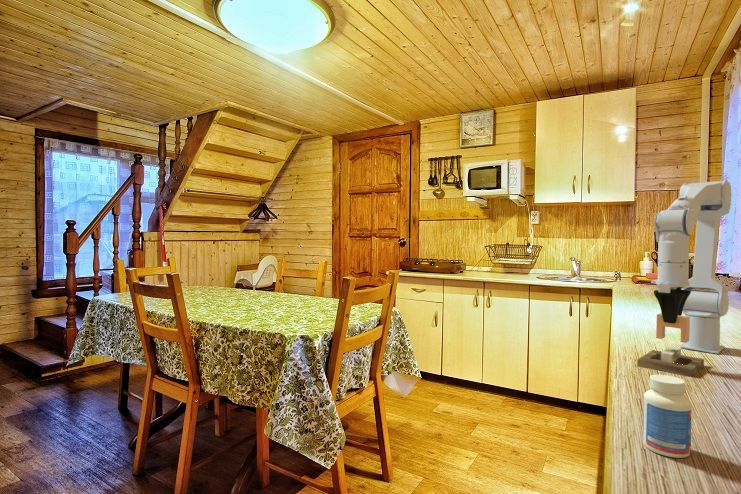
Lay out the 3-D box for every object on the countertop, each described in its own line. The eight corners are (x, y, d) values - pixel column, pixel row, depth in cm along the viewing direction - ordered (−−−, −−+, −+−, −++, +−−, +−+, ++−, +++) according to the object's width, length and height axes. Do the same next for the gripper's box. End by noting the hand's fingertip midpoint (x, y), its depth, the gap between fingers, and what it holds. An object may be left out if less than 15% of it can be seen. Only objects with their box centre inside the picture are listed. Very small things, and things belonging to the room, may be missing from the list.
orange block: (659, 336, 98) (660, 313, 98) (689, 340, 94) (689, 316, 94) (656, 338, 96) (656, 314, 96) (686, 342, 92) (686, 318, 92)
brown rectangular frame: (652, 356, 103) (653, 342, 103) (703, 365, 95) (704, 350, 95) (637, 365, 95) (637, 350, 95) (691, 376, 87) (692, 360, 87)
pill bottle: (699, 461, 54) (701, 387, 54) (653, 457, 55) (655, 384, 55) (677, 441, 60) (679, 374, 59) (636, 437, 61) (637, 371, 60)
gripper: (661, 260, 102) (659, 315, 103) (643, 262, 93) (641, 323, 93) (696, 261, 97) (695, 319, 97) (681, 264, 87) (680, 328, 88)
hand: (671, 321), depth 95 cm, fingers closed on orange block, 3 cm apart
